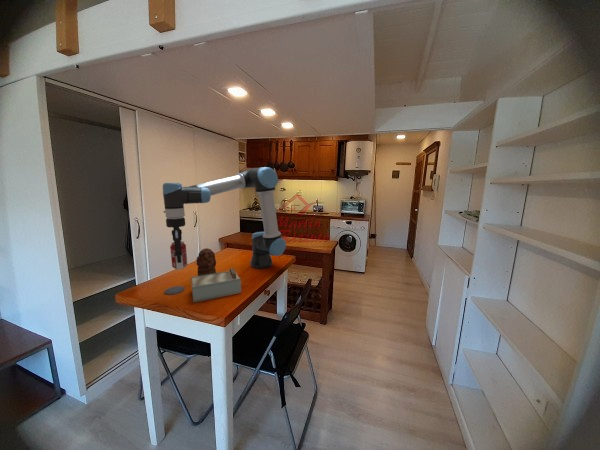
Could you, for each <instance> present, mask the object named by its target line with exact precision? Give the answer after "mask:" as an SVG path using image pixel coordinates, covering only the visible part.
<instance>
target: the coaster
mask: <svg viewBox="0 0 600 450" xmlns="http://www.w3.org/2000/svg"><path fill="white" fill-rule="evenodd" d="M184 291H185V287H184V286H182V285H181V286H180V285H177V286H171V287H169V288H166V289H165V290H164V295H167V296H173V295H177V294H181V293H182V292H184Z"/></svg>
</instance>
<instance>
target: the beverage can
mask: <svg viewBox="0 0 600 450" xmlns="http://www.w3.org/2000/svg"><path fill="white" fill-rule="evenodd" d="M169 247H170V248H169V249H170V257H171V267H172V268H173V269H174V270H177V267H176V257H175V256H174V255H175V246H174V241H173V242H171V245H170V246H169ZM181 251H182V258H183V268H184V269H186V267H188V256H187V244H185V242H184V241H182V240H181Z"/></svg>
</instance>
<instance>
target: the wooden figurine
mask: <svg viewBox="0 0 600 450" xmlns="http://www.w3.org/2000/svg"><path fill="white" fill-rule="evenodd" d="M215 255H216V254H215V252H214V251H213V250H212V249H211V248H208V247H207V248H202V249H201V250H200V251H199V252H198V255H197V256H196V260H195V261H196V266H197V276H201V275H207V274H214V273H217V270H216V266H217V260H216V256H215Z"/></svg>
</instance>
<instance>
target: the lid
mask: <svg viewBox="0 0 600 450" xmlns="http://www.w3.org/2000/svg"><path fill="white" fill-rule="evenodd" d="M234 270H235V269H234V268H233V267H230V268H229V271H230V272H226V271H225V272H226V273H220V272H219V273H220V274H214V275H208V276H202V277H196V278H192V282H191V285H192V284H193V287H194V286H200V285H205V284H211V283H216V282H222V281H228V280H233V279H239V278H240V277H239V275H238V273H237V272H236V270H235V271H234Z"/></svg>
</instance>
